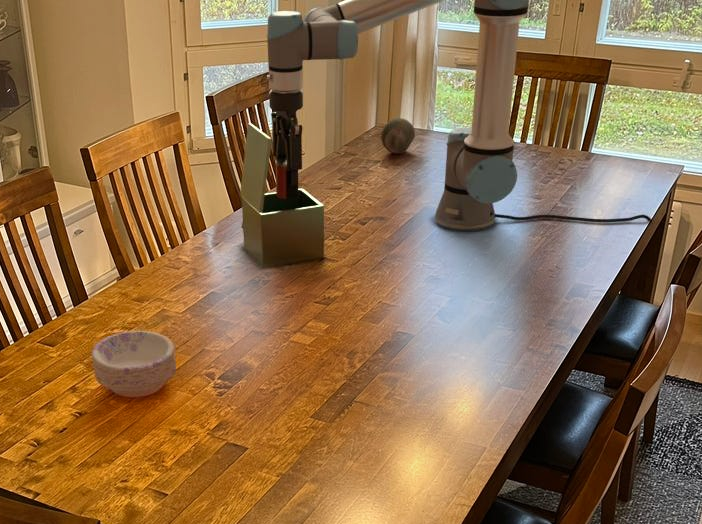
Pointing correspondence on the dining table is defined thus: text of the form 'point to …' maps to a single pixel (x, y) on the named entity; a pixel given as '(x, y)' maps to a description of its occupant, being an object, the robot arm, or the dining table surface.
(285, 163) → the tin can
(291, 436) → the dining table surface
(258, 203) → the bin lid
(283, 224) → the trash can
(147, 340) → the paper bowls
